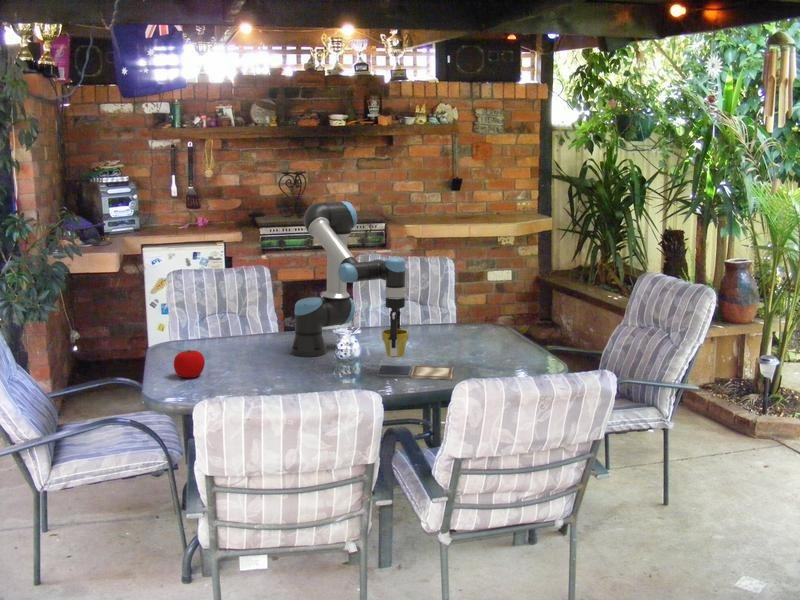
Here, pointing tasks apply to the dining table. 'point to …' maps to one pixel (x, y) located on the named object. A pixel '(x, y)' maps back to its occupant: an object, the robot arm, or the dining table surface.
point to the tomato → (189, 364)
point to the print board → (432, 372)
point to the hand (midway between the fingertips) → (395, 352)
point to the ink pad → (394, 371)
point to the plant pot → (401, 341)
